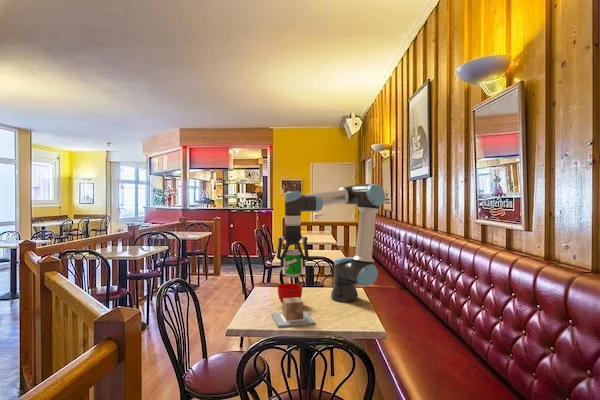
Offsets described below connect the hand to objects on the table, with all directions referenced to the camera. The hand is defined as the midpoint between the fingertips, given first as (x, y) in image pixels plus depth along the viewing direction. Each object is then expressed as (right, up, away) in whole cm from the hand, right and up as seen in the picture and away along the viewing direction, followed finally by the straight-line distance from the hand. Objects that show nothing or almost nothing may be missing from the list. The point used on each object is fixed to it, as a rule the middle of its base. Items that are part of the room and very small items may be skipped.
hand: (292, 273), depth 170 cm
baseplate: (0, -22, 0) cm, 22 cm away
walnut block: (0, -20, 0) cm, 20 cm away
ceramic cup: (-2, -22, +25) cm, 33 cm away
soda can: (0, -1, 0) cm, 1 cm away
